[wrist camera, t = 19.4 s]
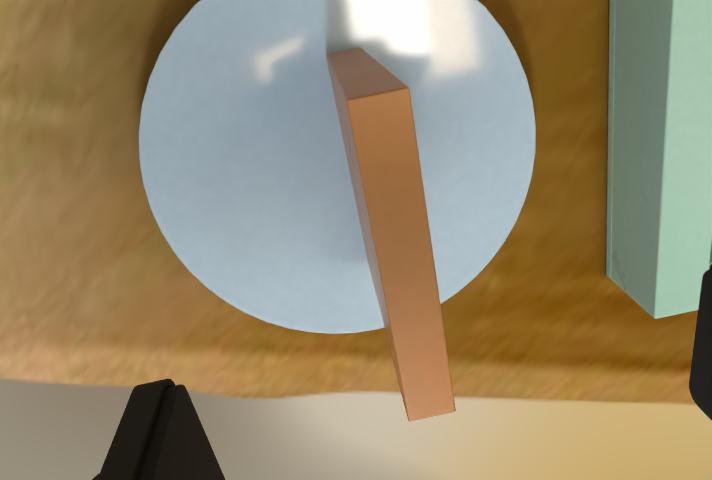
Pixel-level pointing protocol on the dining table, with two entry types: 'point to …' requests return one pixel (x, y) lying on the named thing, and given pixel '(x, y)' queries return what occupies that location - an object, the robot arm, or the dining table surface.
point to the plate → (327, 148)
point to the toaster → (660, 152)
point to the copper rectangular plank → (394, 225)
